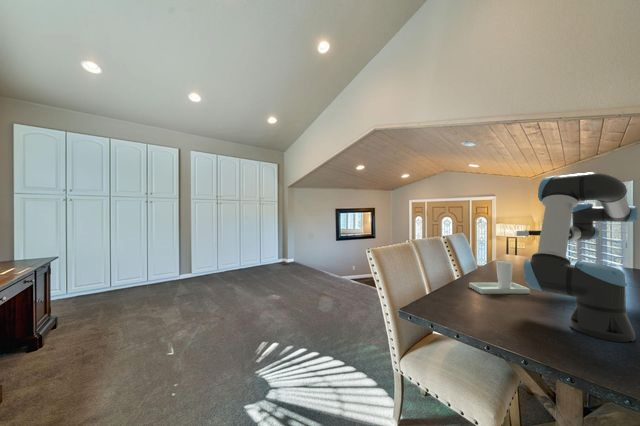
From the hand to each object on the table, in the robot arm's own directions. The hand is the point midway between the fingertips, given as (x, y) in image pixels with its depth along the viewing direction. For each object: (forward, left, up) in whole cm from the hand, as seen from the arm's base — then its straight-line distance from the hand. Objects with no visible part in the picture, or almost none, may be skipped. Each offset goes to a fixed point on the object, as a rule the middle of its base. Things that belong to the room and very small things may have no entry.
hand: (528, 234), depth 130 cm
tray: (-11, +9, -30) cm, 33 cm away
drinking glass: (-10, +6, -30) cm, 32 cm away
